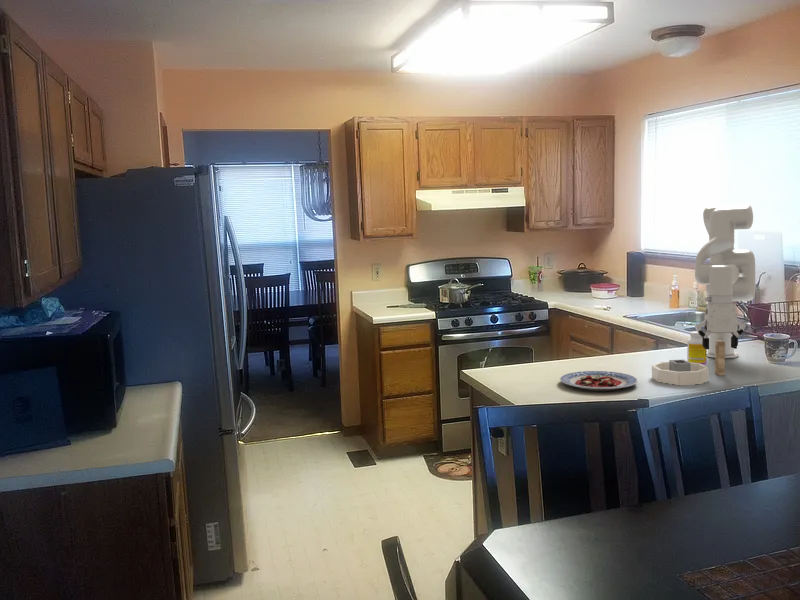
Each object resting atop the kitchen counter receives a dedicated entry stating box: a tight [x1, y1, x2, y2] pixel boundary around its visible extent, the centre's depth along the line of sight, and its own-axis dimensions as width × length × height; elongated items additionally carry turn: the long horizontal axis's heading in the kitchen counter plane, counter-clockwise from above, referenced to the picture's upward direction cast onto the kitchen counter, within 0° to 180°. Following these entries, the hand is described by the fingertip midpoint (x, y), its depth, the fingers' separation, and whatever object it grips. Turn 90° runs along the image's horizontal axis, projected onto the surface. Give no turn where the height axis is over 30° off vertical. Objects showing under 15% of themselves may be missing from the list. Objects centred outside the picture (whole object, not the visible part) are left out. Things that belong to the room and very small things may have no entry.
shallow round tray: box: [651, 359, 710, 386], centre depth 234 cm, size 17×17×6 cm
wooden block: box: [714, 340, 726, 376], centre depth 239 cm, size 3×2×12 cm, turn 178°
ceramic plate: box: [559, 370, 639, 392], centre depth 233 cm, size 26×26×3 cm
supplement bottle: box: [686, 330, 708, 367], centre depth 254 cm, size 7×7×13 cm
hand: (720, 348), depth 238 cm, fingers open, 9 cm apart
